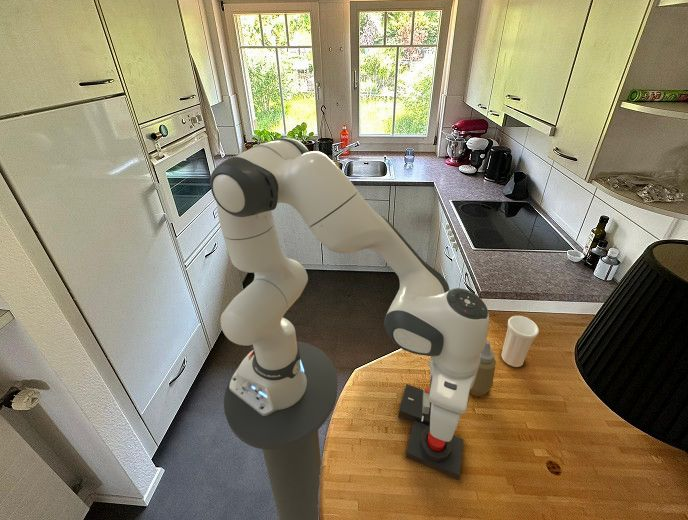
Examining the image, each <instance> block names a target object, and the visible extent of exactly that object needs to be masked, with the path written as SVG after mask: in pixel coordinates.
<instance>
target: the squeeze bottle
mask: <svg viewBox="0 0 688 520" xmlns="http://www.w3.org/2000/svg"><path fill="white" fill-rule="evenodd" d="M480 356H481V360H480V365H479V368H478V372H477V375H476V379H475V382H474V384H473V387H472V389H471V391H470V395H473V396H475V397H482V396H484V395H485V394H487V393H488V392H489V391H490V390H491V389H492V388H493V384H494V377H495V370H496V364H497V361H496V358H495V353H494V350H493V349H492V348H491V342H490V340H489V339H488V340H487V339H486V343H485V347H484V349H483V351H482V352H481V353H480Z"/></svg>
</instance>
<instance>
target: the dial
mask: <svg viewBox="0 0 688 520" xmlns="http://www.w3.org/2000/svg"><path fill="white" fill-rule="evenodd" d="M423 390H424V391H423V409H422V413H423V414H429V409H430V402H429V391H430V388H426V387H424V388H423Z"/></svg>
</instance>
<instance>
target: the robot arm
mask: <svg viewBox="0 0 688 520" xmlns="http://www.w3.org/2000/svg"><path fill="white" fill-rule="evenodd" d="M209 178H210V179H209V182H210V183H209V185H210V190H211V194H212V196H213V199H214V200H215V202H216V211H217V216H218V221H219V225H220V230H221V234H222V237H223V239H224V243H225V246H226V249H227V252H228V255H229V258H230V262H231V264H232V265H233V267H235V268H236V269H238V270H239V271H240V272H243V273H249V274H251V273H252V274H253V275H254V278H253V280H252V282H251V283H250V284H248V285H246V287H245V288H244V289H243V290H241V291H240V292H238V294H237V295H236V296H234V297H233V298H232V300H231V301H230V302H229V304H227V306H226V307H225V309H224V311H223V312H222V313H221V315H220V327H221V330H222V333H223V334H224V336H225V337H226V338H227V339H228V340H229V341H230V342H231V343H233V344H236V345H238V346H243V347H245V346H250V347H249V351H250V352H248V354H247V355H246V356H245V357H244V358H243V360H242V361H241V363H240V364H239V365H240V366H239V365H238V367H239V368H238V367H237V368H238V369H237V368H236V369H237V370H236V369H235V370H236V372H235V371H234V372H235V373H234V372H233V373H234V375H233V374H232V375H233V377H232V376H231V377H232V379H231V381H230V386H229V388H230V390H231V391H232V392H233V393H234V394H235V395H237V396H238V397H239V398H241V399H242V400H243V401H244V402H246V403H247V404H248V405H249V406H251V407H252V408H253V409H255V410H256V411H257V412H258V413H260V414H261V415H262V416H267V415H269V414H271V413H273V412H274V411H277V410H281V409H285V408H288V407H290V406H292V405H294V404H295V403H296V402H298V401H299V400H300V399H301V397H302V396H303V394H304V393H305V390H306V387H307V378H306V375H305V373H304V369H303V366H302V363H301V360H300V352H299V347H298V344H297V342H298V341H297V335H296V334H297V333H296V329H295V326H294V324H293V323H292V321H290V320H289V319H287V318H285V317H284V316H285V314H286V313H287V312H288V310H289V309H290V308H291V307H292V306H293V305H294V304H295V302H296V301H297V300H298V299H299V298H300V297H301V295H302V294H303V292H304V290H305V288H306V286H307V284H308V282H309V275H308V273H307V270H306V268H305V267H304V266H303V264H302V263H300V262H299V261H297V260H295V259H294V258H289V257H287V256H286V254H285V253H284V251H283V249H282V245H281V242H280V239H279V235H278V231H277V227H276V223H275V219H274V215H273V212H272V211H274V210H276V208H277V206H278V204H286V205H290V206H291V207H292V208H294V209H295V210H296V212H297V213H298V214H299V215H300V217H301V218H302V219H303V221H304V223H305V224H306V226H307V227H308V228H309V230H310V231H311V232H312V234H313V235H314V237H315V238H316V239H317V241H318V242H320V244H322V246H324V247H325V248H326V249H327V250H329V251H331V252H334V253H338V254H353V253H356V252H359V251H363V250H367V249H369V250H372V251H374V252H375V253H377V254H378V255H379V256H380V257H381V259H383V261H384V262H385V263H386V264H387V265H388V267H390V269H391V270H393V272H394V273H395V274H396V276H397V277H398V279H399V289H398V291H397V293H396V295H395V297H394V299H393V300H392V302H391V304H390V305H389V307H388V310H387V313H386V314H385V317H384V319H383V324H384V329H385V332H386V335H387V336H388V337H389V339H390V340H391V341H392V343H393V344H394V345H396V346H397V347H398V348H400V349H401V350H403V351H405V352H407V353H410V354H414V355H419V356H426V357H429V362H428V367H429V378H430V381H429V389H430V391H429V402H431V414H430V433H431V435H432V436H433V437H435V438H437V439H440V440H442V441H446V442H450V441H451V440H452V438H453V435H454V436H455V433H456V430H457V428H458V425H459V422H460V420H461V416H462V415H465V414H466V412H467V409H468V404H469V400H470V395H471V393H470V391H471V389H472V387H473V384H474V382H475V379H476V375H477V372H478V368H479V365H480V360H481V356H480V353H481V352H482V351H483V349H484V347H485V343H486V340H487V338H488V335H489V328H490V314H489V310H488V307H487V305H486V304H485V302H484V301H483V299H482V298H480V296H478V294H476V293H475V292H472V291H471V290H469V289H465V288H459V287H455V288H451V289H450V286H449V283H448V281H447V279H446V277H444V276H443V275H442V273H440V272H439V271H438V270H436V269H435V268H433V267H432V266H430V265H429V264H428V263H427V262H426V261H424V260H423V258H422V257H420V255H419V254H418V253H417V252H416V250H414V248H413V247H412V246H411V244H409V242H408V241H407V240H406V239H405V237H403V235H402V234H401V233H400V231H398V230H397V228H395V226H393V224H392V223H391V222H390V221H389V219H387V218H386V217H384V216H383V215H382V214H379V212H377V211H376V210H374V209H373V208H372V207H371V206H370V204H369V203H368V202H367V201H366V200H365V198H364V197H363V196H362V195H361V193H360V192H359V191H358V189H357V187H356V186H355V185H354V184H353V182H352V181H351V180H350V179H349V177H348V176H347V175H346V174H345V172H344V171H343V170H342V169H340V167H339V165H337V164H336V163H335V162H334V161H333V160H332V159H331V158H329V157H328V155H327V154H325V153H324V152H321V151H309V149H308V148H307V146H306V145H305V144H304V143H302V142H301V141H299V140H298V139H296V138H291V137H280V138H279V137H278V138H276V139H273V140H272V141H266V142H263V143H259V144H256V145H254V146H252V147H250V148H249V149H247V150H245V151H243V152H241V153H239V154H237V155H235V156H232V157H228V158H227V159H225V160H223V161H222V162H220V163H219V164H218V165H217V166H216V167H215V168H214V169H213V171H212V172H211V174H210V177H209ZM234 380H235V381H234ZM261 408H263V409H261Z"/></svg>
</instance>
